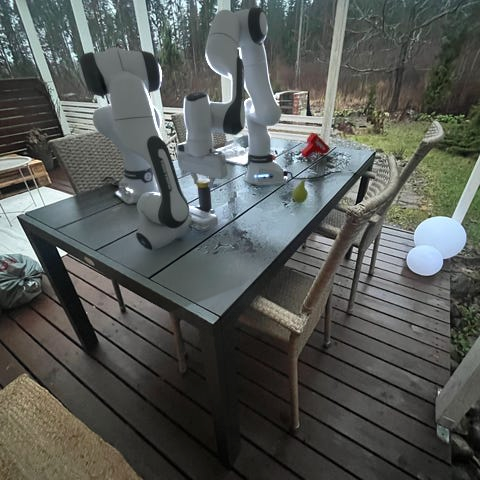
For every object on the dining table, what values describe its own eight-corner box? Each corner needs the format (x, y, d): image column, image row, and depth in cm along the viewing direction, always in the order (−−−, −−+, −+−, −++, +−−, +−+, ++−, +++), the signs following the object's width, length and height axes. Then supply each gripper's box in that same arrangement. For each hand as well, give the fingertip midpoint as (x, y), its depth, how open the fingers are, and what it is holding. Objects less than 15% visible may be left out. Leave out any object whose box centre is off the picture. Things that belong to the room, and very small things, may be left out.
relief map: (243, 165, 166) (243, 156, 164) (202, 156, 184) (201, 148, 181) (267, 155, 185) (267, 147, 182) (227, 147, 202) (227, 140, 200)
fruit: (288, 200, 123) (290, 174, 116) (302, 197, 125) (305, 172, 119) (296, 206, 118) (299, 179, 111) (310, 203, 120) (314, 177, 114)
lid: (203, 181, 102) (203, 177, 101) (213, 184, 100) (213, 180, 99) (193, 185, 99) (193, 181, 98) (203, 188, 96) (203, 184, 95)
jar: (214, 221, 107) (212, 182, 98) (204, 224, 105) (201, 185, 96) (208, 217, 110) (205, 179, 102) (198, 220, 108) (194, 182, 99)
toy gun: (302, 154, 174) (315, 133, 171) (298, 152, 177) (311, 132, 174) (316, 167, 185) (330, 148, 182) (312, 166, 188) (325, 147, 185)
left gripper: (201, 223, 89) (227, 208, 98) (160, 207, 99) (188, 195, 109) (202, 239, 92) (228, 223, 102) (163, 222, 103) (189, 209, 112)
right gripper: (230, 149, 89) (231, 188, 97) (185, 141, 99) (189, 178, 106) (219, 153, 85) (221, 194, 92) (172, 145, 95) (177, 182, 102)
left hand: (207, 208), depth 105 cm, fingers closed on jar, 4 cm apart
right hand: (203, 185), depth 100 cm, fingers closed on lid, 5 cm apart
